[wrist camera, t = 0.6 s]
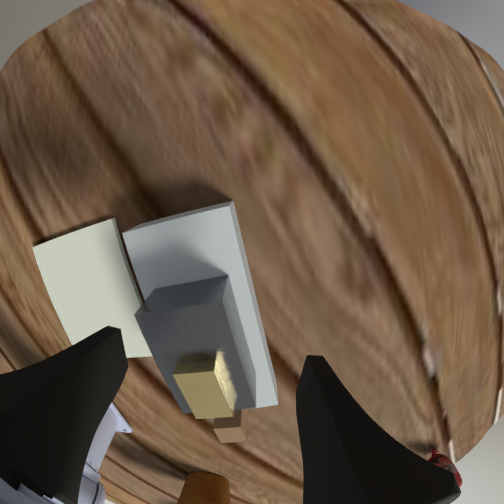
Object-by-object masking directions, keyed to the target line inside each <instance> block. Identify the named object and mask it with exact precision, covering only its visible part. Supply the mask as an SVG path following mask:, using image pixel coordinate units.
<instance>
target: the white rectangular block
mask: <svg viewBox="0 0 504 504" xmlns="http://www.w3.org/2000/svg"><path fill="white" fill-rule="evenodd" d="M122 234H123V237H124V241H125V244H126V247H127V250H128V253H129V257H130V260H131V263H132V266H133V269H134V272H135V275H136V277H137V280H138V283H139V286H140V289H141V291H142V294H143V297H144V299H145V300H146V299H147V297H148V296H149V295H150V294H151V292H152V291H153V290H154V289H156V288H161V287H167V286H172V285H177V284H183V283H188V282H193V281H198V280H204V279H209V278H214V277H219V276H224V275H229V278H230V282H231V286H232V290H233V293H234V297H235V301H236V304H237V308H238V312H239V315H240V319H241V323H242V326H243V330H244V333H245V337H246V340H247V344H248V347H249V351H250V354H251V358H252V361H253V365H254V368H255V371H256V408H259V407H266V406H272V405H278V397H277V386H276V379H275V375H274V370H273V366H272V362H271V358H270V354H269V350H268V346H267V342H266V337H265V333H264V329H263V325H262V321H261V317H260V312H259V308H258V304H257V300H256V296H255V291H254V287H253V283H252V279H251V274H250V270H249V266H248V262H247V257H246V253H245V249H244V245H243V240H242V236H241V232H240V228H239V223H238V219H237V215H236V210H235V206H234V202H233V201H229V202H225V203H220V204H216V205H212V206H207V207H203V208H199V209H195V210H191V211H187V212H183V213H179V214H175V215H172V216H168V217H164V218H160V219H157V220H153V221H149V222H146V223H142V224H139V225H137V226H135V227H133V228H131V229H129V230H127V231H126V232H124V233H122ZM249 409H251V408H249ZM213 430H214V431H215V433H216V435H217V437H218V438H219V440H220V442H221V443H230V442H243V441H247V432H248V409H240V410H234V415H233V417H222V418H215V420H214V427H213Z"/></svg>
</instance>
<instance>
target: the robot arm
mask: <svg viewBox="0 0 504 504" xmlns="http://www.w3.org/2000/svg"><path fill="white" fill-rule="evenodd" d="M127 369H128V362H127V357H126V353H125V348H124V343H123V338H122V333H121V329H120V328H116V327H112V326H106V327H104V328H102V329H100V330H99V331H97V332H95V333H93V334H92V335H90V336H88V337H86V338H85V339H83V340H81V341H79V342H78V343H76V344H74V345H72V346H71V347H69V348H67V349H65V350H63V351H61V352H59V353H57V354H55V355H53V356H51V357H49V358H47V359H45V360H43V361H41V362H38V363H36V364H33V365H31V366H28V367H25V368H22V369H19V370H15V371H12V372H8V373H4V374H0V504H104V501H105V495H106V493H105V489H104V486H103V484H102V483H101V482H99V479H100V477H101V475H99V474H98V473H97V472H98V470H99V468H100V465H101V463H102V461H103V458H104V456H105V454H106V452H107V449H108V447H109V445H110V443H111V440H112V438H113V436H114V434H115V431H119V432H127V433H131V432H132V428H131V427H130V426H129V424H128V423H127V422H126V420H125V419H124V418H123V416H122V415H121V414H120V412H119V411H118V409H117V408H116V407H115V405H114V404H113V402H112V401H113V399H114V397H115V396H116V394H117V392H118V390H119V388H120V386H121V384H122V382H123V379H124V377H125V374H126V371H127ZM296 414H297V422H298V429H299V436H300V444H301V451H302V458H303V470H304V489H303V504H450V503H451V502H453V501H454V500H456V499H457V498H458V497H459V496H460V494H461V491H460V488H459V485H458V483H457V480H456V477H455V475H454V473H453V472H451V471H448V470H446V469H444V468H442V467H439V466H437V465H435V464H433V463H431V462H429V461H427V460H425V459H423V458H422V457H420V456H418V455H417V454H415V453H413V452H412V451H410V450H409V449H407V448H406V447H405V446H403V445H402V444H401V443H399V442H398V441H396V440H395V439H394V438H393V437H391V436H390V435H389V434H388V433H387V432H385V431H384V430H383V429H382V428H381V427H380V426H379V425H378V424H377V423H376V422H375V421H373V420H372V419H371V417H370V416H369V415H368V414H367V413H366V412H365V411H364V410H363V409H362V408H361V406H360V405H359V404H358V403H357V402H356V401H355V399H354V398H353V397H352V396H351V394H350V393H349V392H348V390H347V389H346V388H345V387H344V385H343V384H342V382H341V381H340V380H339V378H338V377H337V375H336V374H335V373H334V371H333V370H332V368H331V367H330V365H329V364H328V362H327V361H326V360H325V358H324V357H323V356H313V355H307V357H306V360H305V364H304V367H303V370H302V374H301V377H300V381H299V384H298V387H297V390H296Z"/></svg>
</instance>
